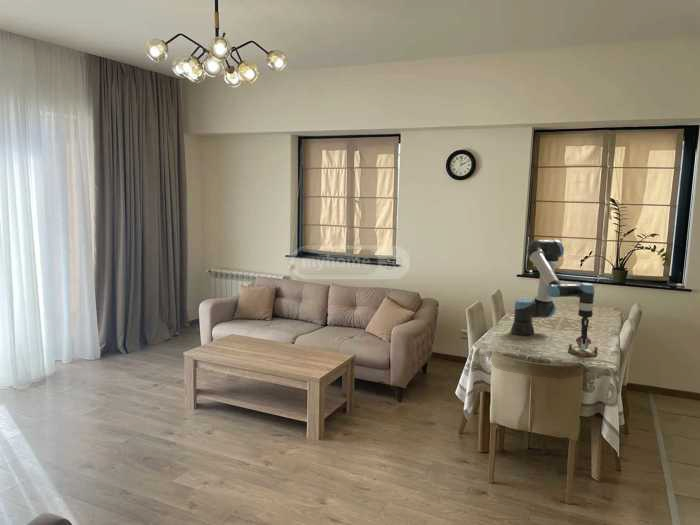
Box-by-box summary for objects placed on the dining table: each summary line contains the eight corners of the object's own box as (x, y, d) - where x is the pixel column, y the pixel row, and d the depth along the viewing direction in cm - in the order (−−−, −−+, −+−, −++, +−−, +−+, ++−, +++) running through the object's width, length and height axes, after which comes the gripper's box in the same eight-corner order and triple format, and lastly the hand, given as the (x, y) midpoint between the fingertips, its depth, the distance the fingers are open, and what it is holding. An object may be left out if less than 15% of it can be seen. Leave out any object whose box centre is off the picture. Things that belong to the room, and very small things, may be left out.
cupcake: (573, 345, 317) (574, 326, 316) (588, 346, 316) (589, 327, 315) (577, 350, 309) (579, 330, 307) (592, 350, 308) (594, 330, 306)
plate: (577, 357, 304) (578, 350, 303) (562, 349, 320) (563, 342, 319) (603, 356, 306) (603, 349, 306) (587, 348, 322) (587, 341, 321)
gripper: (593, 313, 299) (590, 352, 302) (591, 306, 318) (589, 343, 321) (579, 312, 301) (576, 350, 304) (578, 305, 321) (575, 341, 324)
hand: (583, 346), depth 313 cm, fingers closed on cupcake, 8 cm apart
